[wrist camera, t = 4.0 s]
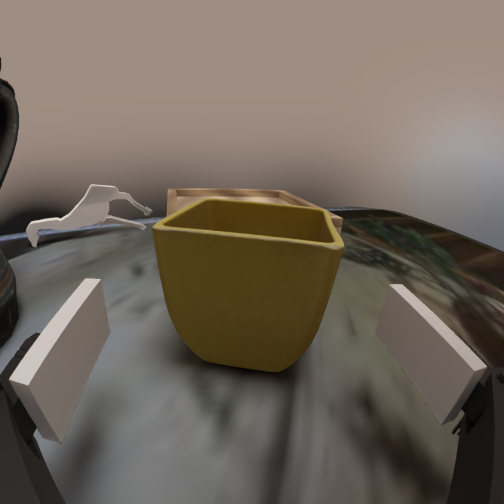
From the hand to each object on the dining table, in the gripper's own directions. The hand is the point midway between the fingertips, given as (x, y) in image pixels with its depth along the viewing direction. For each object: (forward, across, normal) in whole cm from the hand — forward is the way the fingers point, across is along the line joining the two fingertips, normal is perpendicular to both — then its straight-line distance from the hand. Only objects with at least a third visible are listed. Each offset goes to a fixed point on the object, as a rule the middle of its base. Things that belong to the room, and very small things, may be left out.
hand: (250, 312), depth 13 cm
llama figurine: (+28, -20, -6) cm, 35 cm away
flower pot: (+5, +1, -6) cm, 8 cm away
